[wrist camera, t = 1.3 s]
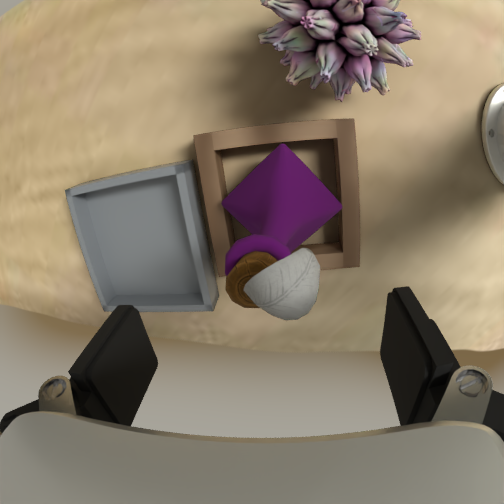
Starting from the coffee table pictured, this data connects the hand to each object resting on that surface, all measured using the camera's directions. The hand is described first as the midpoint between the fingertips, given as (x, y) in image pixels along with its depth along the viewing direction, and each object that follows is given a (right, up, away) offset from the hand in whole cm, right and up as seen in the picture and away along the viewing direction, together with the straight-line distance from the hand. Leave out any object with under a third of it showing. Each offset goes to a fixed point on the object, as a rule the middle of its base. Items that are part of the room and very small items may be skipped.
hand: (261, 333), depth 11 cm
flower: (+7, +22, +12) cm, 25 cm away
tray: (-12, +4, +21) cm, 25 cm away
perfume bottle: (+3, +8, +18) cm, 20 cm away
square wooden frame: (+3, +8, +18) cm, 20 cm away
